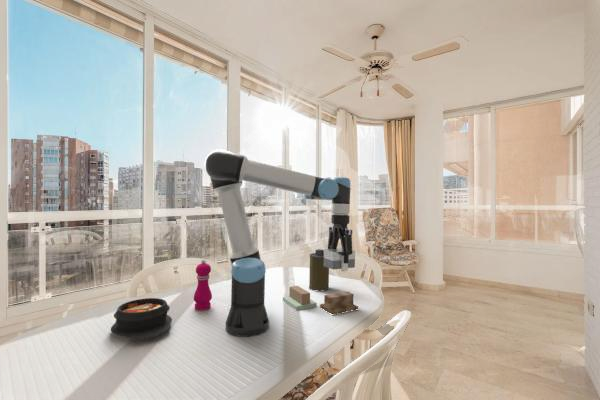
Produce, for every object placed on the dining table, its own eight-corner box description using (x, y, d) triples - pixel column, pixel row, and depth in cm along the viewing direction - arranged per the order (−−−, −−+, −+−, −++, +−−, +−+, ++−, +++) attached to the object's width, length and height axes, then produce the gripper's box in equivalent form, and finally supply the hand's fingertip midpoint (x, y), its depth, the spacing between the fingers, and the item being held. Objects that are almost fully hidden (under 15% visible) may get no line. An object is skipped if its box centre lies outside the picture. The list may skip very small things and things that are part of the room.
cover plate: (333, 260, 119) (333, 249, 119) (323, 257, 125) (324, 246, 125) (354, 259, 124) (355, 247, 124) (344, 256, 130) (345, 245, 130)
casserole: (103, 325, 105) (103, 301, 105) (158, 312, 118) (159, 291, 118) (120, 352, 87) (120, 323, 87) (183, 333, 99) (184, 308, 99)
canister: (321, 292, 146) (322, 252, 146) (304, 288, 153) (305, 249, 153) (333, 287, 155) (333, 249, 155) (316, 284, 161) (317, 247, 161)
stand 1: (295, 310, 122) (296, 295, 122) (282, 300, 134) (283, 287, 134) (316, 306, 127) (316, 292, 127) (302, 297, 139) (302, 284, 139)
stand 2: (331, 315, 118) (332, 300, 118) (320, 307, 125) (320, 293, 125) (357, 310, 124) (358, 295, 124) (345, 303, 132) (345, 289, 132)
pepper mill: (189, 308, 121) (190, 260, 122) (202, 303, 128) (203, 257, 128) (202, 312, 118) (203, 262, 118) (215, 306, 125) (216, 259, 125)
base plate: (332, 269, 119) (333, 260, 119) (323, 265, 125) (323, 257, 125) (354, 267, 124) (354, 259, 124) (344, 264, 130) (344, 256, 130)
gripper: (363, 215, 118) (361, 273, 117) (334, 213, 135) (333, 263, 135) (347, 215, 114) (345, 275, 114) (320, 213, 132) (318, 264, 132)
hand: (338, 268), depth 125 cm, fingers closed on base plate, cover plate, 7 cm apart
